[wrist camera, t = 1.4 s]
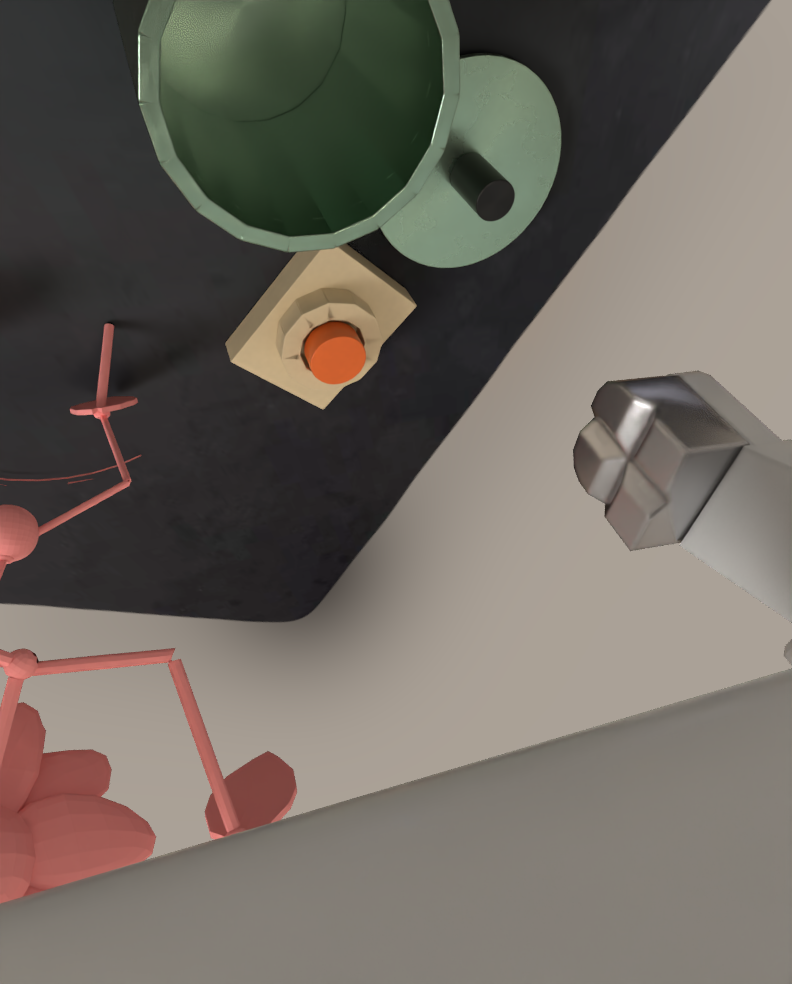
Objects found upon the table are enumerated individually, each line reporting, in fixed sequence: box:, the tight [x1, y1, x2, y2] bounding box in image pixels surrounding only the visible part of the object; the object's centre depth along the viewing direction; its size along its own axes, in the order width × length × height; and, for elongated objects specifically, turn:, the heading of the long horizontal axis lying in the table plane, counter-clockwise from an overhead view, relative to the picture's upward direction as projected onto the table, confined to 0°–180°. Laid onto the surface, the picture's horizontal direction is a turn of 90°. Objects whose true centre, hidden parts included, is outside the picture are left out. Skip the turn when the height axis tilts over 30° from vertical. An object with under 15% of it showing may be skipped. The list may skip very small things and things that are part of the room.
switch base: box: [225, 244, 417, 409], centre depth 45 cm, size 10×8×4 cm
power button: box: [304, 322, 366, 384], centre depth 43 cm, size 4×4×2 cm
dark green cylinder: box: [113, 0, 460, 253], centre depth 28 cm, size 11×12×14 cm
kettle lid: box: [380, 53, 561, 268], centre depth 40 cm, size 12×12×5 cm
